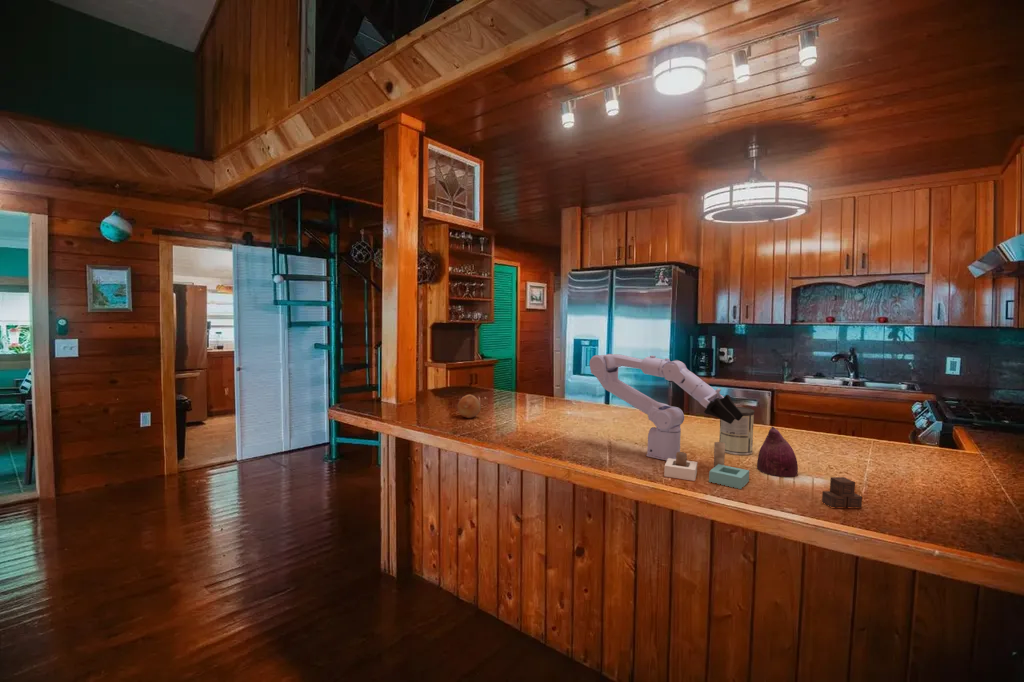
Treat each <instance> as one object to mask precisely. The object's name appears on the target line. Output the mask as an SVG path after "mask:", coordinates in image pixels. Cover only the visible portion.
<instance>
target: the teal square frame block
mask: <svg viewBox="0 0 1024 682" xmlns="http://www.w3.org/2000/svg"><path fill="white" fill-rule="evenodd" d="M749 481H750V470H748V469H745V468H739V467H734V466H731V465H730V466H729V465H725V464H724V465H720V464H718V465H717V466H715V467H714V466H713V468H711V469H710V470H709V472H708V483H711V482H712V483H713V484H715V483H717V484H716V485H720V484H721V485H720V486H724V485H725V487H728V486H729V488H733V487H734V488H733V489H737V488H738V490H742V489H743V488H744V487H745V486H746V485H747V484H749ZM742 487H743V488H742Z"/></svg>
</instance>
